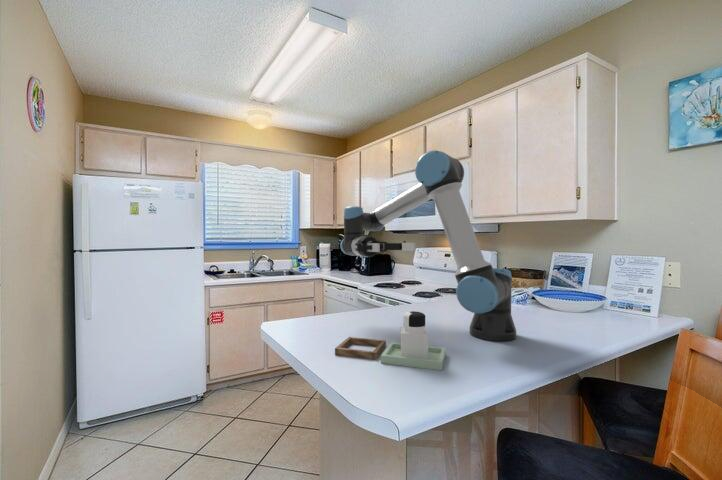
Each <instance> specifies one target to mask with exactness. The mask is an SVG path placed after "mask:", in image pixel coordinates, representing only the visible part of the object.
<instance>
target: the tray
mask: <svg viewBox="0 0 722 480" xmlns="http://www.w3.org/2000/svg"><path fill="white" fill-rule="evenodd" d="M446 349H447V348H446V347H437V346H429V345H428V359H419V358H411V357H402V356H401V342H393V341H391V342H390V343H389V344H388V345H387V346H386V347H385V348H384V350H383V351H382V352H381V354H380V363H381V364H386V365H387V364H388V365H396V366H406V367H410V368H411V367H413V368H420V369H427V370H436V371H443V367H444V364H445V359H446V353H447V351H446Z"/></svg>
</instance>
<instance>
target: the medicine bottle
mask: <svg viewBox="0 0 722 480" xmlns="http://www.w3.org/2000/svg"><path fill="white" fill-rule="evenodd" d="M402 318H403V321H402V322H403V323H402V324H403V326H401V327H400V343H401V356H402V357H411V358H419V359H428V346H429V333H428V330H427V328H426V314H424V313H423V312H421V311H406V312H404V313H403V317H402Z"/></svg>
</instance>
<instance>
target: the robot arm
mask: <svg viewBox="0 0 722 480" xmlns="http://www.w3.org/2000/svg"><path fill="white" fill-rule="evenodd" d="M414 175H415V178H416V180H417V182H418V184H416V185H414V186H413V187H411V188H409V189H408V190H407V189H406V191H404V192H402V193H401V194H399V195H398V196H395V197H394V198H392V199H390V200H389V201H388V202H385V203H384V204H382V205H381V206H379V207H377V208H375V209H374V210H372V211H370V212H364V210H363V207H362V206H357V205H356V206H355V205H354V206H346V207H345V208H344V211H343V212H344V213H343V234H344V235H343V238H342V240H341V241H340V245H339V248H340V250H341V252H342V253H343V254H345V255H348V256H352V257H353V256H355V257H360V258H361V259H363V257H366V258H367V257H368V258H371V257H374V256H375V255H376V254H377V253H381V252H387V251H403V252H407V251H408V252H415V251H416V242H406V240H404V241H403V242H388V241H381V240H380V241H379V240H377V239H376V238H375V237H374V236H371V235H369V236H365V235H364V232H365V231H366V232H379V231H381V230H383V228H384V227H385V225H386V224H389V223H390V222H392V221H394V220H396V219H398V218H399V217H401V216H403V215H405V214H407V213H408V212H411V211H413V210H414V209H416V208H419V206H421V205H424V203H427V202H428V201H430V200H433V202H434V204H435V208H436V210H437V213H438V215H439V219H440V221H441V224H442V227H443V230H444V233H445V236H446V238H447V241H448V244H449V247H450V250H451V253H452V255H453V259H454V261H455V264H456V267H457V269H456V272H455V273H454V277H455V279H456V282H457V286H456V290H455V293H456V294H455V295H456V299H457V301H458V302H459V304H460V306H462V308H464V309H465V310H466V311H468V312H470V313H473V317H472V319H471V322H470V325H469V334H470V335H471V336H473V337H475V338H477V339H481V340H486V341H491V342H492V341H494V342H510V341H514V340H516V339H517V328H516V325H515V323H514V319H513V316H512V281H513V277H512V272H511V271H510V269H505V268H494V267H493V265H492V263H490V262H488V261H486V260H485V258H484V256H483V252H482V250H481V247H480V244H479V242H478V239H477V236H476V233H475V230H474V228H473V225H472V223H471V220H470V217H469V214H468V211H467V209H466V206H465V202H464V200H463V198H462V197H463V196H462V195H461V192H460V190H461V188H462V186H463V184H462V183H463V180H464V177H465V169H464V166H463V164H462V162H461V161H459V160H458V159H457V158H455V157H453V156H451V155H449V154H446V153H445V152H444V151H441V150H429V151H427V152H425V153H423V154H422V155H421V156H420V157H419V159H418V160H417V163H416V164H415V168H414Z"/></svg>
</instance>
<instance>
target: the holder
mask: <svg viewBox="0 0 722 480" xmlns="http://www.w3.org/2000/svg"><path fill="white" fill-rule="evenodd" d="M351 344H352V345H359V346H360V345H361V346H370V347H375V348H374V349H373V350H363V349H354V348H348V347H349V346H350V345H351ZM386 348H387V340H384V339H376V338H366V337H365V338H364V337H356V336H348V337H347V338H346V339H345V340H343V341H342V342H341V343H339V344H338V346H336V347H335V348H334V355H335V356H345V357H351V358H352V357H353V358H361V359H368V360H369V359H370V360H377V358H379V355H381V354H382V353H383V352H384V350H385V349H386Z"/></svg>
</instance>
